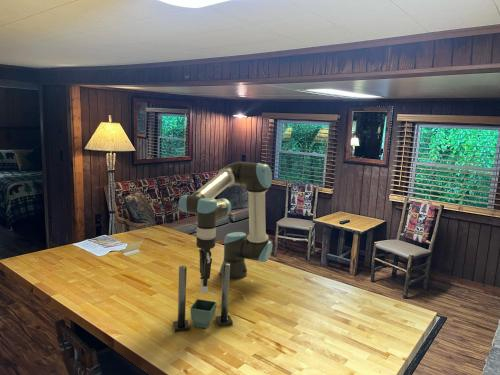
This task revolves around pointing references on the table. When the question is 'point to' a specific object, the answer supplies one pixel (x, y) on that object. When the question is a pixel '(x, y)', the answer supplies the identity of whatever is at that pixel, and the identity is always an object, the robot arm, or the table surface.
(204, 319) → the flower pot
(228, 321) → the post
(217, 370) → the table surface
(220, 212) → the robot arm
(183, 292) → the post
